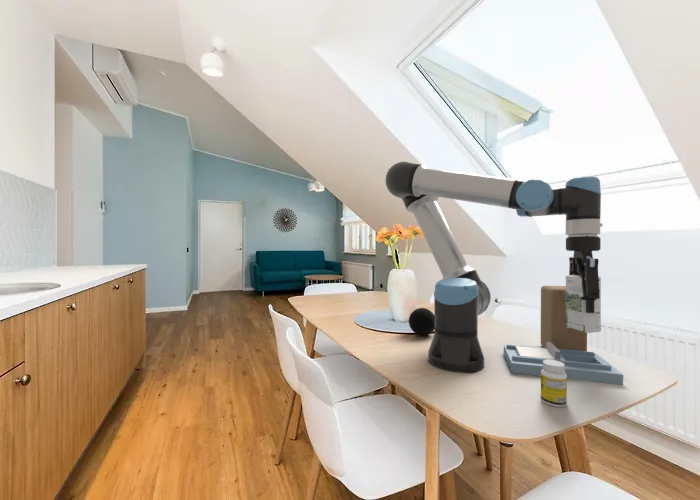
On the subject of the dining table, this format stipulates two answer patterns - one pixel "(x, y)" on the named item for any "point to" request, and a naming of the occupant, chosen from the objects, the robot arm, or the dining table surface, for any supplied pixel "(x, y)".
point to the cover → (539, 352)
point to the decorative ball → (422, 321)
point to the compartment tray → (567, 365)
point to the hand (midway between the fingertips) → (582, 321)
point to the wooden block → (558, 321)
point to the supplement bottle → (554, 383)
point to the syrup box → (579, 306)
